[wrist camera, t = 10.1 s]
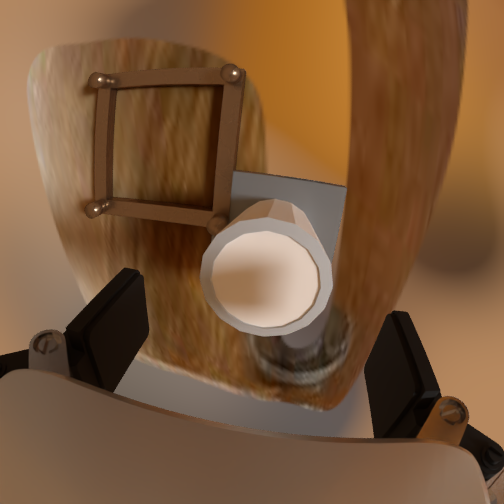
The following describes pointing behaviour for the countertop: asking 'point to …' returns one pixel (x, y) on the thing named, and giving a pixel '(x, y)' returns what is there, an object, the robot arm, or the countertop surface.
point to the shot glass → (267, 270)
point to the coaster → (293, 201)
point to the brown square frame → (226, 152)
